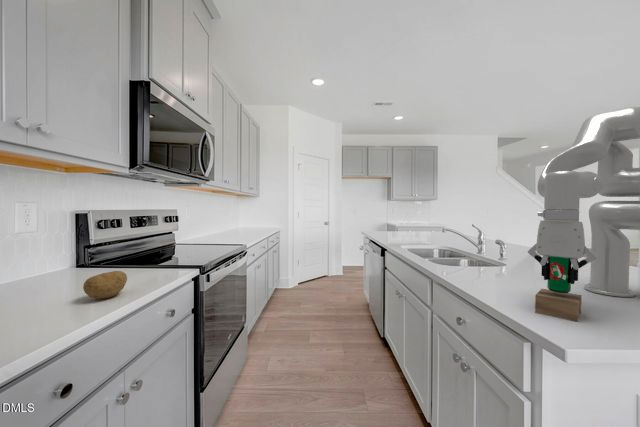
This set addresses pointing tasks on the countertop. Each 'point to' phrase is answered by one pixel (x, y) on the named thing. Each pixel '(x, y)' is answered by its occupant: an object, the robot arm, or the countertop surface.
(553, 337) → the countertop surface
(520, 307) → the countertop surface
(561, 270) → the soda can
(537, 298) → the walnut block
